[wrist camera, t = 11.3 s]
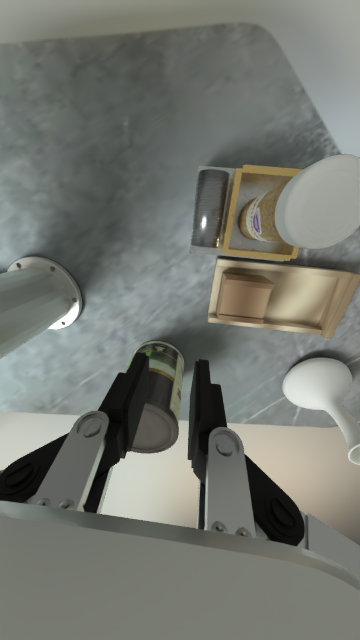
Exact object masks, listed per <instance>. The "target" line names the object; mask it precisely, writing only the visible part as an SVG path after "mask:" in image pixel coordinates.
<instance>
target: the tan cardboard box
mask: <svg viewBox="0 0 360 640" xmlns="http://www.w3.org/2000/svg"><path fill="white" fill-rule="evenodd" d="M274 285H275V284H273V282H272V281H270V280H269V279H267V278H266V277H264V276H260V275H250V274H240V273H230V272H222V277H221V282H220V288H219V293H218V299H217V305H216V313H217V317H218V320H225V321H234V322H243V323H252V324H263V321H264V319H263V316H264V312H265V309H266V306H267V302H268V299H269V296H270V292H271V289H273V288H274Z"/></svg>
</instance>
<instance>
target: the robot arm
mask: <svg viewBox="0 0 360 640" xmlns="http://www.w3.org/2000/svg"><path fill="white" fill-rule="evenodd" d="M81 310H82V296H81V293H80V290H79V287H78V285H77V283H76V282H75V280H74V279H73V277H72V276H71V275H70V274H69V273H68V272H67V271H66V270H65V269H64V268H63V267H62V266H60V265H59V264H57V263H55V262H54V261H52V260H49V259H47V258H43V257H38V256H33V257H25V258H21V259H18V260H16V261H15V262H14V263H12V265H11V266H10V267H9V269H8V271H7V272H6V273H1V274H0V359H1V358H3V357H4V356H6V355H7V354H9V353H10V352H12V351H13V350H15V349H16V348H18V347H20V346H21V345H23V344H24V343H26V342H27V341H29V340H30V339H32V338H33V337H35V336H37V335H38V334H40V333H41V332H43V331H44V330H46V329H47V328H49V329H60V328H64V327H67V326H69V325H70V324H72V323H73V322H74V321H75V320H76V319H77V318H78V316H79V315H80V312H81ZM148 390H149V356H147V355H146V353H142V352H136V354H135V356H134V358H133V360H132V362H131V364H130V366H129V368H128V370H127V372H126V373H121V372H120V373H119V374H118V375H117V377H116V379H115V380H114V382H113V384H112V386H111V388H110V389H109V391H108V393H107V395H106V397H105V398H104V400H103V402H102V404H101V406H100V407H99V409H98V411H91V412H88V413H86V414H84V415H82V416H81V417H80V418H79V419H78V420H77V421H76V422H75V424H74V425H73V427H72V429H71V431H70V432H69V433H68V434H65V435H64V436H62V437H60V438H58V439H56V440H54V441H52V442H50V443H48V444H46V445H44V446H43V447H41V448H39V449H37V450H35V451H33V452H31V453H29V454H27V455H25V456H23V457H21V458H20V459H18V460H17V461H15V462H13V463H12V464H10V465H9V466H8V467H7V468H6V469H4V470H1V471H0V640H360V546H359V545H357V544H356V543H354V542H353V541H351V540H349V539H348V538H347V537H345V536H343V535H342V534H340V533H339V532H337V531H336V530H334V529H333V528H331V527H329V526H328V525H326V524H325V523H323V522H322V521H320V520H318V519H317V518H315V517H314V516H312V515H311V514H309V513H308V514H307V515H305V514H304V513H303V512H301V511H299V509H298V507H297V505H296V504H295V503H294V502H293V500H292V499H291V498H290V497H289V496H288V495H287V494H286V493H285V492H284V491H283V490H282V489H280V487H279V486H278V485H276V483H274V482H273V481H272V480H271V479H270V478H269V477H268V476H267V475H266V474H265V473H264V472H263V471H262V470H261V469H260V468H259V467H258V466H257V465H256V464H255V463H254V462H253V461H252V460H251V459H250V458H249V457H248V456H247V455H245V454H244V448H243V444H242V441H241V439H240V438H239V436H238V435H237V434H236V433H235V432H234V431H232V430H231V429H229V428H227V423H226V416H225V410H224V404H223V397H222V391H221V386H220V385H219V384H211V381H210V371H209V361H208V360H201V359H199V362H197V361H195V367H194V374H193V381H192V387H191V394H190V411H189V437H188V460H192V468H193V472H194V473H195V475H196V476H197V477H198V479H199V491H198V510H197V527H196V529H195V528H189V527H182V526H176V525H170V524H163V523H156V522H149V521H143V520H137V519H129V518H123V517H116V516H110V515H103V514H100V512H101V508H102V505H103V501H104V498H105V494H106V490H107V487H108V483H109V480H110V477H111V473H112V469H113V466H114V465H115V464H117V463H118V462H119V461H120V458H125V456H126V453H127V451H129V452H130V451H131V449H132V445H133V442H134V439H135V435H136V432H137V429H138V425H139V422H140V419H141V415H142V412H143V409H144V405H145V402H146V399H147V395H148Z"/></svg>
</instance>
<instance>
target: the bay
mask: <svg viewBox="0 0 360 640" xmlns="http://www.w3.org/2000/svg"><path fill="white" fill-rule="evenodd" d="M222 272H230V273H240V274H250V275H260V276H264V277H266V278H267V279H269V280H270V281H272V282H273V284H275V285H274V288H273V289H271V292H270V296H269V299H268V302H267V306H266V309H265V312H264V316H263V319H264V321H263V324H252V323H243V322H234V321H225V320H218V317H217V313H216V305H217V299H218V293H219V288H220V282H221V277H222ZM359 281H360V274H358V273H354V272H350V271H346V270H340V269H330V268H320V267H310V266H299V265H289V264H279V263H269V262H259V261H249V260H239V259H229V258H219V257H217V259H216V266H215V272H214V278H213V284H212V290H211V297H210V303H209V309H208V315H207V317H208V322H211V323H220V324H229V325H238V326H247V327H256V328H265V329H274V330H283V331H292V332H301V333H310V334H319V335H322V336H323V337H324V338H330V339H331V338H332V336H333V334H334V332H335V330H336V328H337V326H338V324H339V322H340V320H341V318H342V316H343V314H344V312H345V310H346V308H347V306H348V304H349V302H350V300H351V298H352V296H353V294H354V292H355V290H356V288H357V286H358V284H359Z"/></svg>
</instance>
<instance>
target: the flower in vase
mask: <svg viewBox="0 0 360 640" xmlns="http://www.w3.org/2000/svg"><path fill="white" fill-rule="evenodd" d="M351 386H352V375H351V373H350V370H349V369H348V367H347V366H346V365H345V364H344V363H342V362H340V361H338V360H335V359H331V358H312V359H308V360H305V361H303V362H301V363H299V364H297V365H295V366H294V367H293V368H292V369H291V370H290V371H289V372H288V373H287V375H286V376H285V379H284V381H283V392H284V394H285V396H286V397H287V399H289V400H290V401H291V402H292V403H294V404H295V405H297V406H300V407H303V408H307V409H316V410H325V411H327V412H328V413H329V414H330V415H331V416H332V417H333V419H334V420H335V421H336V423H337V424H338V426H339V427H340V429H341V431H342V433H343V434H344V437H345V439H346V441H347V444H348V458H349V460H350V461H351V462H352V463H354V464H357V465H360V424H359V423H358V422H357V421H356V420H355V419H354V418H353V417H352V416H351V415H350V414H349V412H348V411H347V410H346V409H345V407H344V405H343V401H344V399H345V398H346V397H347V395H348V394H349V392H350V389H351Z"/></svg>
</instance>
